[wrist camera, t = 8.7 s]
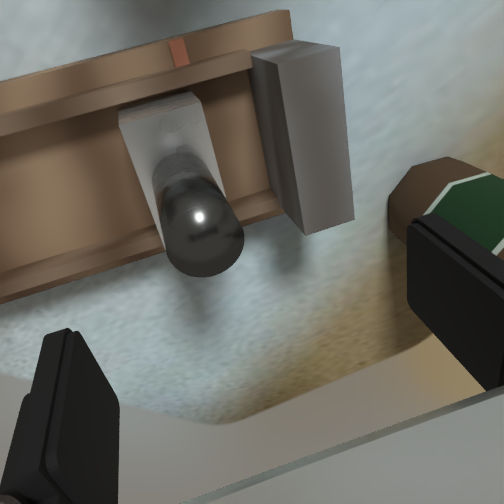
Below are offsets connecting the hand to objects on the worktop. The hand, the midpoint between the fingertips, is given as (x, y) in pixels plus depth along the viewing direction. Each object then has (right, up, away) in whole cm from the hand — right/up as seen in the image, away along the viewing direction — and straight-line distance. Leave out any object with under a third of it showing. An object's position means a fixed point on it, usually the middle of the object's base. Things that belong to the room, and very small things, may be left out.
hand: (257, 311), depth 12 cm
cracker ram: (-5, +7, +14) cm, 16 cm away
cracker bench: (-9, +7, +15) cm, 19 cm away
